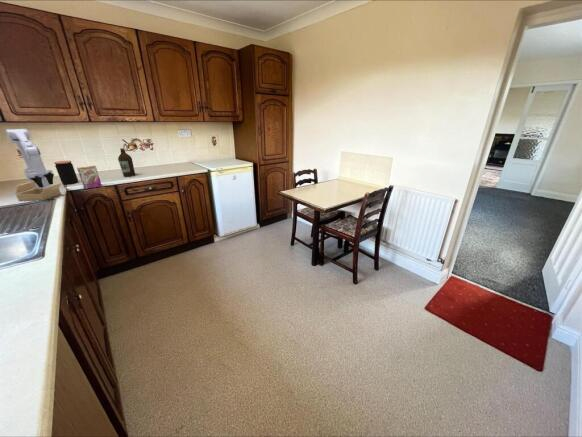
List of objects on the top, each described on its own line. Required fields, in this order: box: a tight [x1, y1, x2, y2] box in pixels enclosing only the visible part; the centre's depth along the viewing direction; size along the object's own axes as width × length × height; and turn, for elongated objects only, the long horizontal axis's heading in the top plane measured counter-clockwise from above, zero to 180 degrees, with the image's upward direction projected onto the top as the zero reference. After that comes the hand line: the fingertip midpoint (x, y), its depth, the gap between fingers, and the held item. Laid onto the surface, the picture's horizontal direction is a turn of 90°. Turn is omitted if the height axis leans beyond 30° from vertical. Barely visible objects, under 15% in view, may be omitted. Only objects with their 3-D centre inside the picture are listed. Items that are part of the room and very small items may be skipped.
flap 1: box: [15, 181, 36, 195], centre depth 165 cm, size 13×6×1 cm
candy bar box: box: [76, 164, 103, 190], centre depth 188 cm, size 11×5×16 cm, turn 141°
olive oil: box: [117, 147, 136, 178], centre depth 222 cm, size 11×11×25 cm
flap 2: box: [42, 181, 63, 193], centre depth 166 cm, size 13×6×1 cm
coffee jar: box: [53, 160, 79, 186], centre depth 200 cm, size 11×11×18 cm
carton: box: [15, 187, 62, 202], centre depth 167 cm, size 14×16×4 cm
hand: (46, 185), depth 165 cm, fingers open, 7 cm apart
